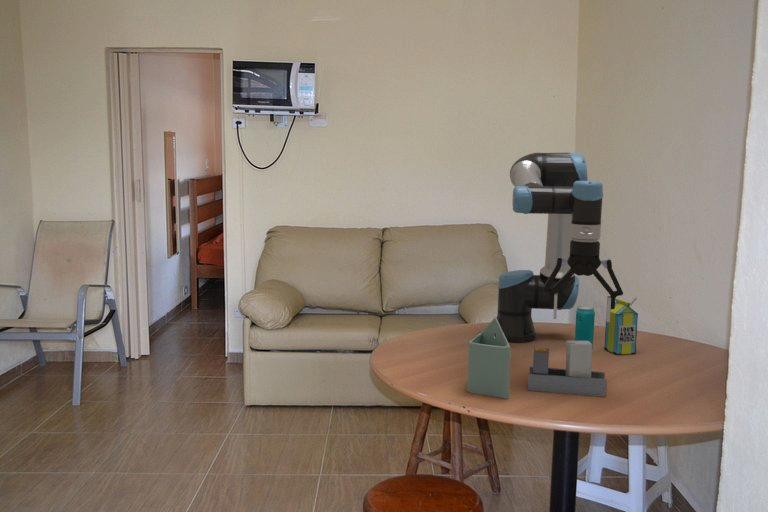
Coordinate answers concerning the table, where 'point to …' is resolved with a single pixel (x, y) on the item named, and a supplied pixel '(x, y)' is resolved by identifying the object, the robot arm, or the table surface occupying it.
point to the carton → (621, 329)
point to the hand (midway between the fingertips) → (581, 319)
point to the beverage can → (585, 324)
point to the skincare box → (578, 359)
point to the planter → (489, 362)
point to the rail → (562, 378)
